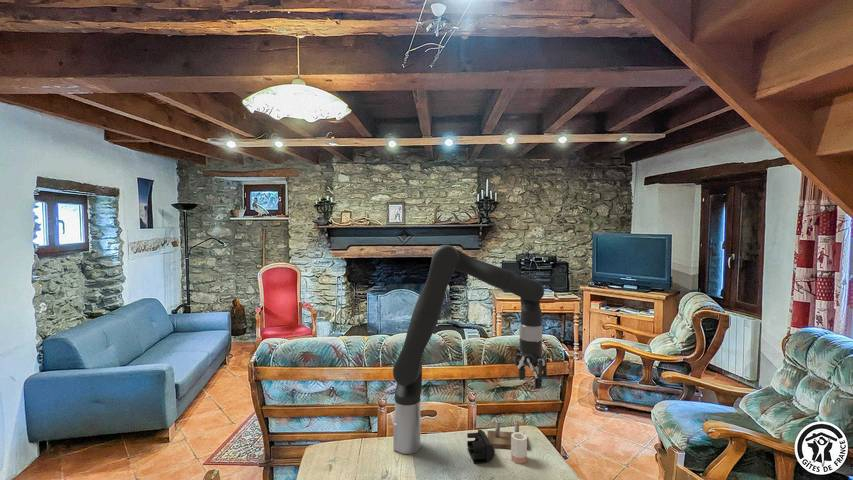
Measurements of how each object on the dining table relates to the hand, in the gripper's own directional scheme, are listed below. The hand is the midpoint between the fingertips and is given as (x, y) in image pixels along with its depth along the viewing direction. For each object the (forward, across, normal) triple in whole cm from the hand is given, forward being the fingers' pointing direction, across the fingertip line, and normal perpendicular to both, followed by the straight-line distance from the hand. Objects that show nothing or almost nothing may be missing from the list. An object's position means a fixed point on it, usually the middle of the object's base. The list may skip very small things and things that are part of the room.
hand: (529, 383), depth 136 cm
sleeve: (+25, +1, -4) cm, 26 cm away
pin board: (+25, -10, -2) cm, 27 cm away
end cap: (+26, -6, -15) cm, 31 cm away
